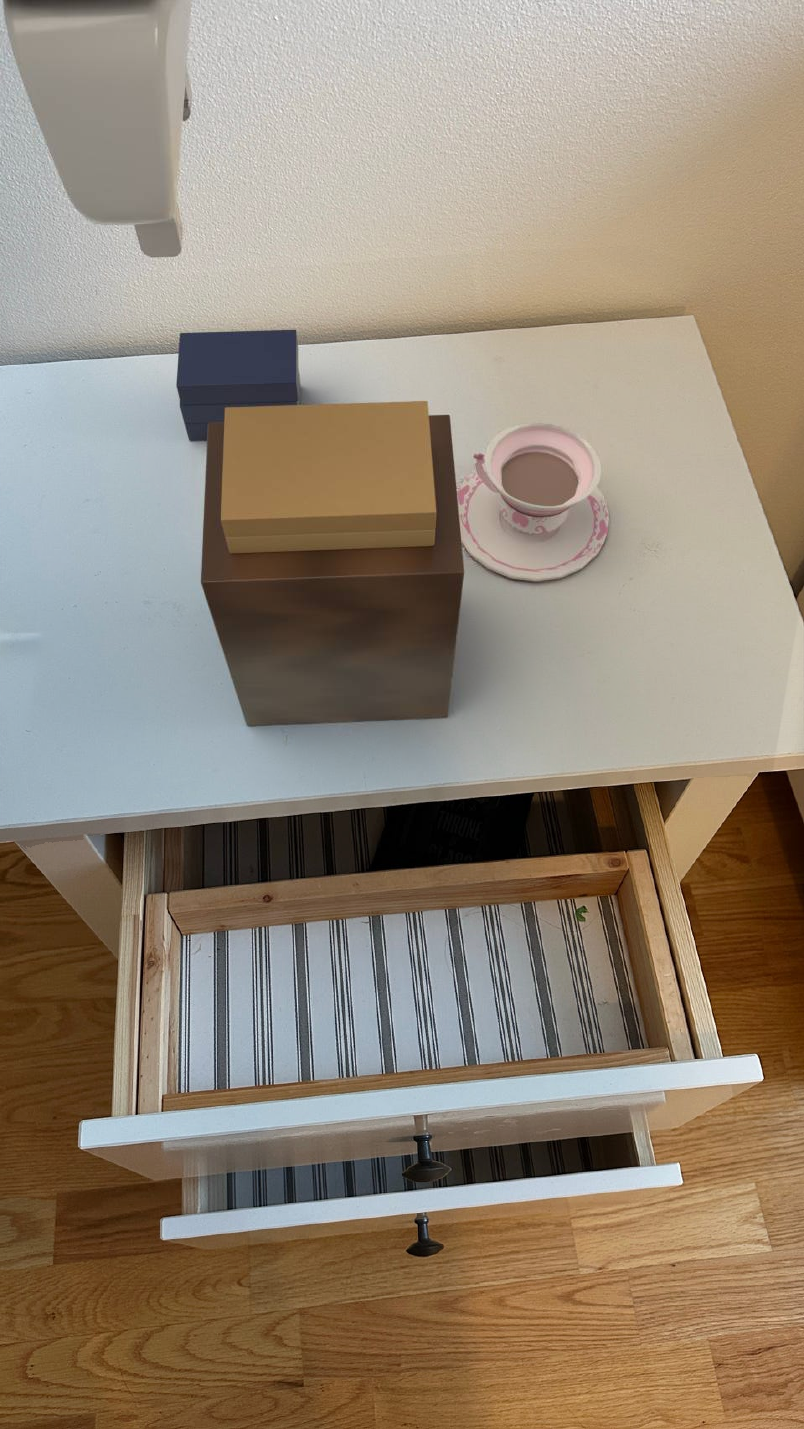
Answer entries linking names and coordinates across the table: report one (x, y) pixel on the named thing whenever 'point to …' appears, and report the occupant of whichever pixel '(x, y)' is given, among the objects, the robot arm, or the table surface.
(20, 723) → the table surface
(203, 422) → the navy books
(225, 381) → the navy book
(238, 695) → the book stand
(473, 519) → the teacup
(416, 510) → the tan books
